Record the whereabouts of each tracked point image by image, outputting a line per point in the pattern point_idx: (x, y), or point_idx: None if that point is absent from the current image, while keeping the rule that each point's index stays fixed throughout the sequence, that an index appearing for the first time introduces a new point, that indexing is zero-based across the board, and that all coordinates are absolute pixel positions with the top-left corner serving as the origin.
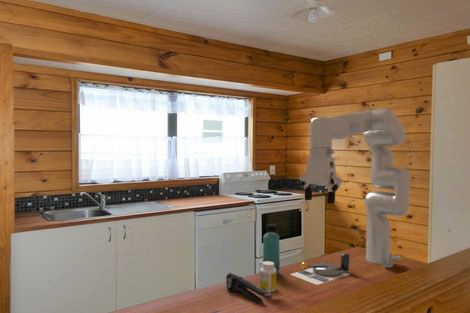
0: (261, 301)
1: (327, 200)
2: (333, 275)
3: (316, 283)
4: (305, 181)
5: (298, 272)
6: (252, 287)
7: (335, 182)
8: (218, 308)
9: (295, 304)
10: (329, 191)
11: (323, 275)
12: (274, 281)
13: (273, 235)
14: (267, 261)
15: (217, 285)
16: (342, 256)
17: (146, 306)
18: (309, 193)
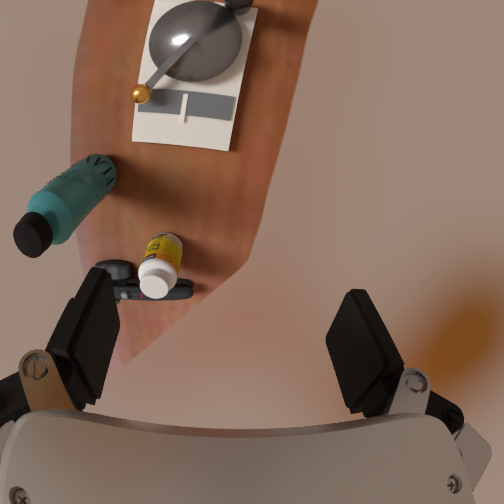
0: (192, 286)
1: (329, 353)
2: (231, 64)
3: (222, 143)
4: (4, 430)
5: (139, 111)
6: (167, 299)
7: (447, 438)
8: (165, 331)
9: (239, 249)
10: (361, 405)
11: None
12: (179, 263)
13: (60, 232)
14: (144, 281)
15: None
16: (235, 3)
17: (115, 366)
18: (98, 344)
